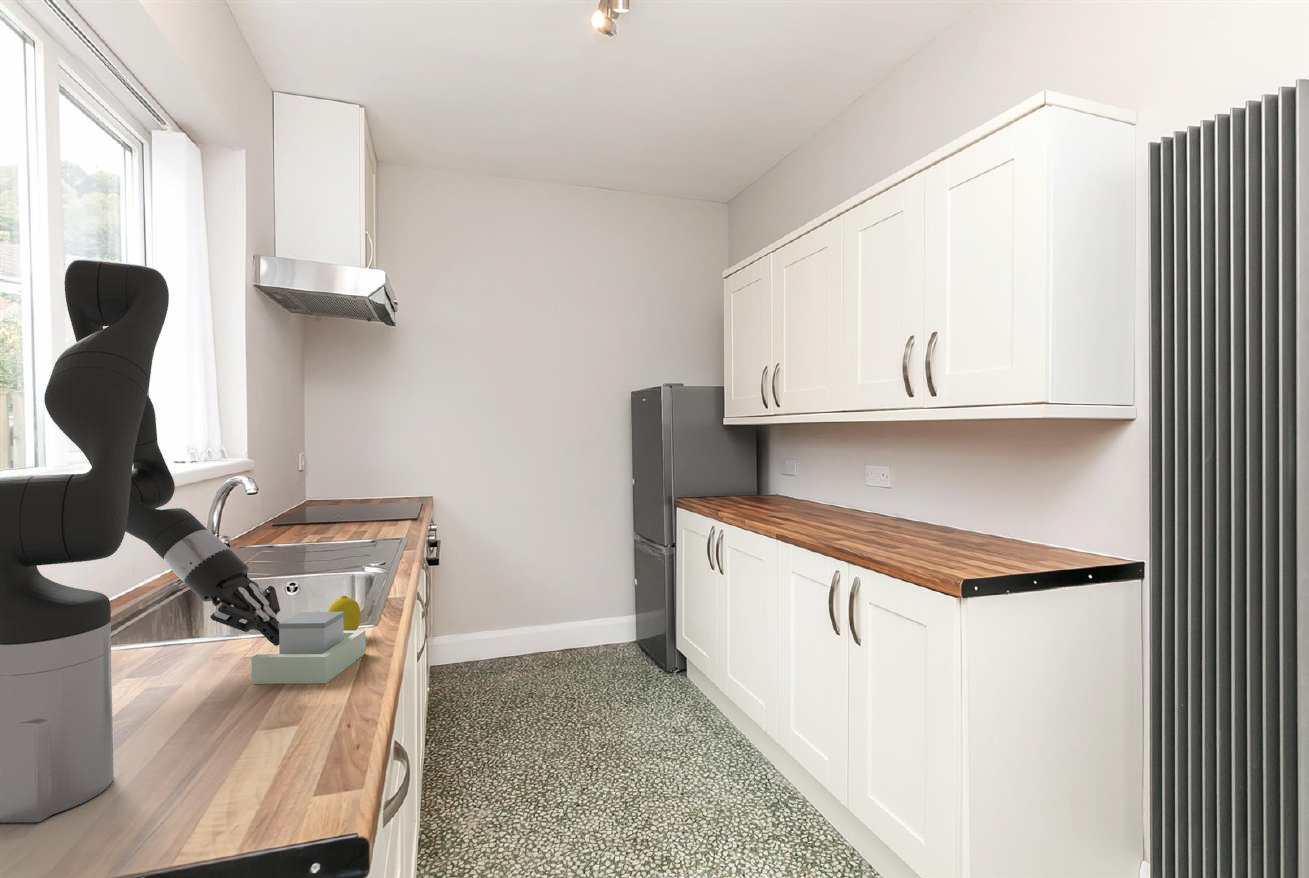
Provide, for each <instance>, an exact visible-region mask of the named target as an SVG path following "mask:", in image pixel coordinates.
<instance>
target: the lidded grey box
mask: <svg viewBox="0 0 1309 878" xmlns="http://www.w3.org/2000/svg"><path fill="white" fill-rule="evenodd" d="M343 617H344V612H328V611H300V612H298V613H296V614H294V615H292V616H291V617H287V618H286V619H285V620H282V621H279V622H280V623H278V629H279V645H278V647H279V649H278V650H279V654H323V653H324V652H326V651H328V650H329V649H331V648H332V647H334V646H335V645H337V644H338V643H340V642H341V641H343V640H344V620H343Z"/></svg>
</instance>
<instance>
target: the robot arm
mask: <svg viewBox="0 0 1309 878" xmlns="http://www.w3.org/2000/svg"><path fill="white" fill-rule="evenodd" d="M63 286H64V297H65V302H66V306H67V307H66V309H67V312H68V315H69V320H70V323H71V326H72V330H73V335H74V337H75V340H76V341H75V343H74V344H72V345H71V346H68V348H66V349H65V350H64V351H63V352H62V353H61V354H60V356H59V357H58V358H57V360H56V361H55V363H54V366H53V369H52V371H51V373H50V377H49V380H48V383H47V385H46V389H45V392H44V405H45V409H46V411H47V412H48V413H47V414H48V415H49V416H50V419H51V420H52V421H53V423H54V424H55V425H56V426H57V427H58V428H59V429H60V431H62V434H64V435H65V436H66V437H68V439H70V441H71V442H72V443H73V444H74V445H75V446H77V448H79V450H80V451H81V452H82V453H83V455H84V456H85V459H87V460H88V463H89V464H90V467H91V468H90V470H88V471H87V472H84V473H69V474H68V473H66V474H42V475H41V474H36V475H35V474H34V475H31V474H29V475H13V476H12V475H11V476H1V477H0V823H40V822H42V821H44V820H45V819H47V818H49V817H51V816H52V815H55V814H58V813H61V812H63V811H66V810H69V809H72V808H74V807H77V806H78V805H81V804H84V803H85V802H87V801H89V800H91V799H93V798H95V797H96V796H97V795H100V794H101V793H103V792H104V791H105V790H106V789H108V787H110V786H111V784H112V783H113V782H114V741H113V740H114V736H113V735H114V734H113V733H114V732H113V730H114V729H113V690H112V689H113V686H112V683H113V682H112V680H113V679H112V678H113V677H112V629H111V628H112V627H111V625H112V622H111V621H112V615H111V614H112V610H111V609H112V605H111V601H110V598H109V597H108V596H107V595H106V594H104V593H102V592H98V591H93V590H89V589H83V588H76V587H72V586H67V585H64V584H61V583H58V582H55V581H53V580H52V579H49V578H48V577H45V576H44V575H43V574H42V573H41V572H40V571H39V569H38V566H48V565H59V564H60V565H61V564H71V563H72V564H73V563H82V562H90V561H95V560H96V561H97V560H102V559H107V558H109V557H111V556H112V555H114V554H115V553H116V552H117V551H118V550H119V548H120V546H121V545H122V542H123V540H124V537H125V533H127V534H129V535H131V536H133V537H135V538H136V539H138V540H141V541H142V542H144V543H145V544H147V545H148V546H149V547H150V548H151V549H152V550H153V551H154V552H155V553H157V555H158V556H159V557H161V558H162V560H163V561H164V562H165V563H166V564H167V566H168V567H169V569H170V570H171V571H172V572H173V573H174V574H175V575H176V576H177V577H178V578H179V580H181V581H182V582H183V583H184V584H185V585H186V586H187V587H188V588H189V589H190V590H191V591H192V592H193V593H194V594H195V595H196V596H197V597H198V598H199V599H200V600H201V601H202V602H205V603H206V602H211V603H212V605H214V606H215V611H214V612H212V614H211V615H210V619H211V620H212V621H214V622H215V623H216V622H217V623H219V624H223V625H225V626H228V627H231V628H233V629H236V630H239V631H242V632H245V633H248V632H249V631H251V630H253V631H254V632H260V634H261V635H262V636H263V637H265V639H267V640H268V641H269V643H270V644H272V645H274V646H275V647H279V629H278V623H280V622H281V621H279V620H278V619H277V618H276V617H277V615H278V613H280V612H281V607H280V604H279V599H278V594H277V592H276V588H275V587H274V586H273V585H269V586H267V588H264V587H260V586H259V585H258V583H257V582H256V581H253V580H252V579H250V578H249V577H248V572H249V567H248V565H247V564H246V563H245V562H243V560H242V559H241V558H239V556H238V555H236V553H235V552H233V551H232V550H231V549H230V547H229V546H227V545H226V544H225V543H224V542H223V541H222V539H220V538H219V537H218V536H217V535H215V534H213V533H212V532H211V531H210V530H208V529H207V528H206V526H205V525H204V524H202V523H201V522H200V520H198V519H197V517H195V516H194V514H192V513H191V512H190V511H188V510H186V509H185V508H182V507H178V508H177V507H176V508H175V507H174V508H173V507H172V508H166V509H159V508H161V507H163V506H165V505H167V504H168V503H170V501H171V500H172V498H173V496H174V493H175V487H176V485H175V480H174V478H173V476H172V473H171V471H170V470H169V467H168V464H167V463H166V461H165V458H164V456H163V454H162V451H161V449H160V446H159V443H158V433H157V432H158V431H157V422H156V420H157V419H156V411H155V407H154V404H153V402H152V400H151V398H150V396H149V390H150V389H149V387H150V382H151V374H152V367H153V360H154V355H155V351H156V347H157V343H158V341H159V339H160V335H161V333H162V329H163V327H164V324H165V321H166V317H167V315H168V310H169V304H170V303H169V301H170V294H169V287H168V283H167V281H166V279H165V277H164V276H163V274H162V273H161V272H160V271H159V270H158V269H155V268H152V267H150V266H146V265H142V264H137V263H135V264H134V263H125V262H115V261H104V260H97V259H96V260H94V259H74V260H73V261H71V262H70V263H69V264H68V266H67V269H66V272H65V275H64V285H63Z"/></svg>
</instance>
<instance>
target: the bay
mask: <svg viewBox="0 0 1309 878" xmlns="http://www.w3.org/2000/svg"><path fill="white" fill-rule="evenodd" d="M365 653H366V630H356V631H344V640H343V641H341V642H340V643H338V644H337V645H335V646H334V647H332V648H331V649H329V650H328V651H326V652H324V653H323V654H280V653H279V654H278V653H274V654H270V653H266V654H265V653H263V654H260V653H259V654H255V655H253V656H251V684H252V685H259V684H260V685H261V684H262V685H266V684H267V685H270V684H271V685H272V684H275V685H279V684H280V685H281V684H283V685H284V684H286V685H289V684H291V685H292V684H295V685H296V684H297V685H298V684H328V683H329V682H330V681H332V680H333V679H334V678H335V677H337V676H338V675H340V674H341V673H342V672H344V671H345V670H346V669H348V668H349V667H350V666H351V665H353V664H355V663H356V662H357V661H358V660H359V658H360V657H361V656H362V655H364V654H365ZM365 655H366V654H365ZM362 657H363V656H362ZM362 657H361V658H362ZM361 658H360V659H361ZM357 659H358V660H357ZM356 660H357V661H356Z"/></svg>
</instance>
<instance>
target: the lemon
mask: <svg viewBox="0 0 1309 878" xmlns="http://www.w3.org/2000/svg"><path fill="white" fill-rule="evenodd" d="M327 612H344V617H343V620H344V631H358V628H359V627H360V624H361V619H362V613H361V608H360V605H359V603H358V602H357V600H355V599H354V598H352V597H349V596H347V595H341V596H340V597H339V598H337V599H336V600H334V601H333V602H332V603H331V604H330V606H329V609H328V610H327Z"/></svg>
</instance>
